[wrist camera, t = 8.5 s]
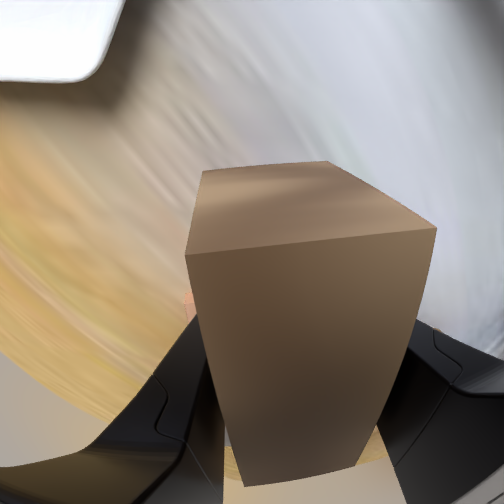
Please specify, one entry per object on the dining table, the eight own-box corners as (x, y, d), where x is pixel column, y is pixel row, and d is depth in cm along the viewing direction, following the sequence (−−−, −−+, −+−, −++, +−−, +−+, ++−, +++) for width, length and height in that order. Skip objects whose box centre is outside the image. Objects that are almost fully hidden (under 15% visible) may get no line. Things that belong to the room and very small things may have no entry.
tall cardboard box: (366, 160, 8) (488, 222, 4) (332, 417, 14) (358, 495, 10) (158, 177, 8) (92, 265, 4) (220, 434, 14) (226, 518, 9)
